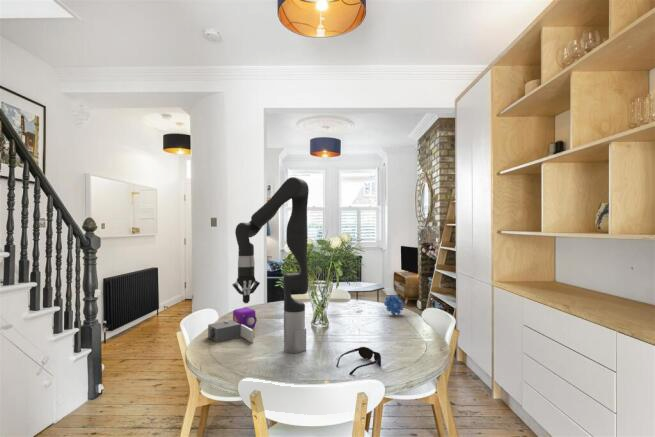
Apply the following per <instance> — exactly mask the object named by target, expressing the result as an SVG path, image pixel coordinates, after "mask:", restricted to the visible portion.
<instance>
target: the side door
mask: <svg viewBox="0 0 655 437" xmlns="http://www.w3.org/2000/svg"><path fill="white" fill-rule="evenodd" d="M240 337H242V338H244V339H245V340H246V341H249V342H250V343H254V339H255V333H254V329H252V328H248V327H247V326H245V325H243V324H242V325H241V330H240Z"/></svg>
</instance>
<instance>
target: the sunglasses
mask: <svg viewBox="0 0 655 437" xmlns="http://www.w3.org/2000/svg"><path fill="white" fill-rule="evenodd" d="M355 352H358V354H359V356H360V357H361V358H362V359H365V360H370V361H371V359H374V361H371V362H370V361H369V362H368V363H365V364H361V365H358V366H356V367H355V368H353V369H352V370H351V371H350V372H349V375H353V374H354V373H355V372H356V370H358V369H359V368H362V367H363V368H364V367H368V366H370V365H371V366H372V365H374V364H377V365H379V367H381V366H382V356H381V354H380V352H376V351H374V350H372V348H369V347H367V346H360V347H357V348H354V349H351V350H348V351H346V352H344V353H342V354H341V355H340V356H339V357H338V360H337V363H336V368H339V363H340V360H341V358H343V356H345V355H348V354H352V353H355Z"/></svg>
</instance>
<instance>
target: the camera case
mask: <svg viewBox="0 0 655 437" xmlns="http://www.w3.org/2000/svg"><path fill="white" fill-rule="evenodd" d="M240 326H241V324H239V323H237V322H235V321H233V319H229V320H225V321H220V322H215V323H209V324H208V325H207V337H208V338H209V339H210V340H212V341H214V342H215V343H216V342H217V343H219V342H223V341H227V340H232V339H236V338H240V337H241V330H240Z"/></svg>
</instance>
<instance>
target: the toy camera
mask: <svg viewBox="0 0 655 437" xmlns="http://www.w3.org/2000/svg"><path fill="white" fill-rule="evenodd" d="M232 321H235V322H237V323H239V324H241V325H242V324H243V325H245V326H247V327H248V328H250V329H252V328H255V327H256V324H257V317H256V310H255V309H252V308H249V307H248V306H244V307H241V308H235V309H234V310H233V312H232ZM240 331H241V326H240Z"/></svg>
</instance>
